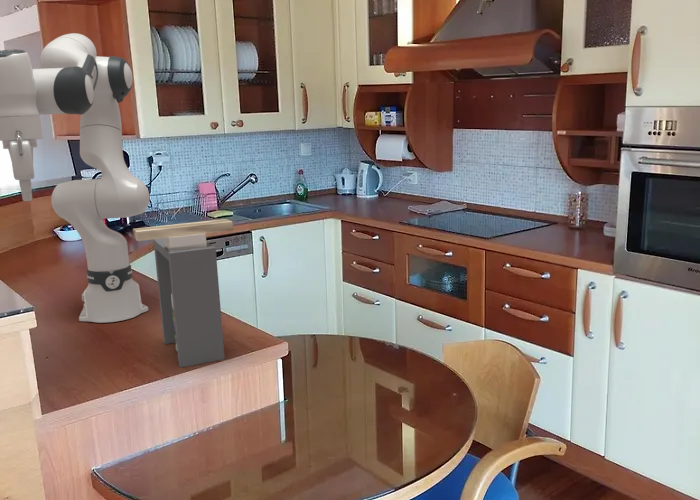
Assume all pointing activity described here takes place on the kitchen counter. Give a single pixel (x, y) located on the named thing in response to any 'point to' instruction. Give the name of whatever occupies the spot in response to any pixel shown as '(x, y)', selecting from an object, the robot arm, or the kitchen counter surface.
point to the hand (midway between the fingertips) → (27, 198)
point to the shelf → (190, 302)
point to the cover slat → (182, 229)
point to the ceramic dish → (185, 242)
